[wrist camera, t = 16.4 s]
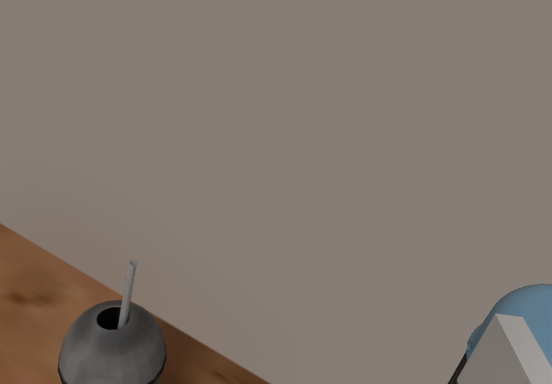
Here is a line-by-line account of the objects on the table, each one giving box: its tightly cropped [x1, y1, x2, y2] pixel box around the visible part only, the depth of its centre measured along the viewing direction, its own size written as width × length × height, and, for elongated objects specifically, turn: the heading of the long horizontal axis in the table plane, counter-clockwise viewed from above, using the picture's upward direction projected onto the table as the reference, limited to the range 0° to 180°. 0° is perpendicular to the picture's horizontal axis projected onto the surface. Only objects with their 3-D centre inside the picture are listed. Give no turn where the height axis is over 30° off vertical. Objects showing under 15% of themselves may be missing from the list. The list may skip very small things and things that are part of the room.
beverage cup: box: [58, 260, 167, 384], centre depth 35 cm, size 7×7×20 cm
